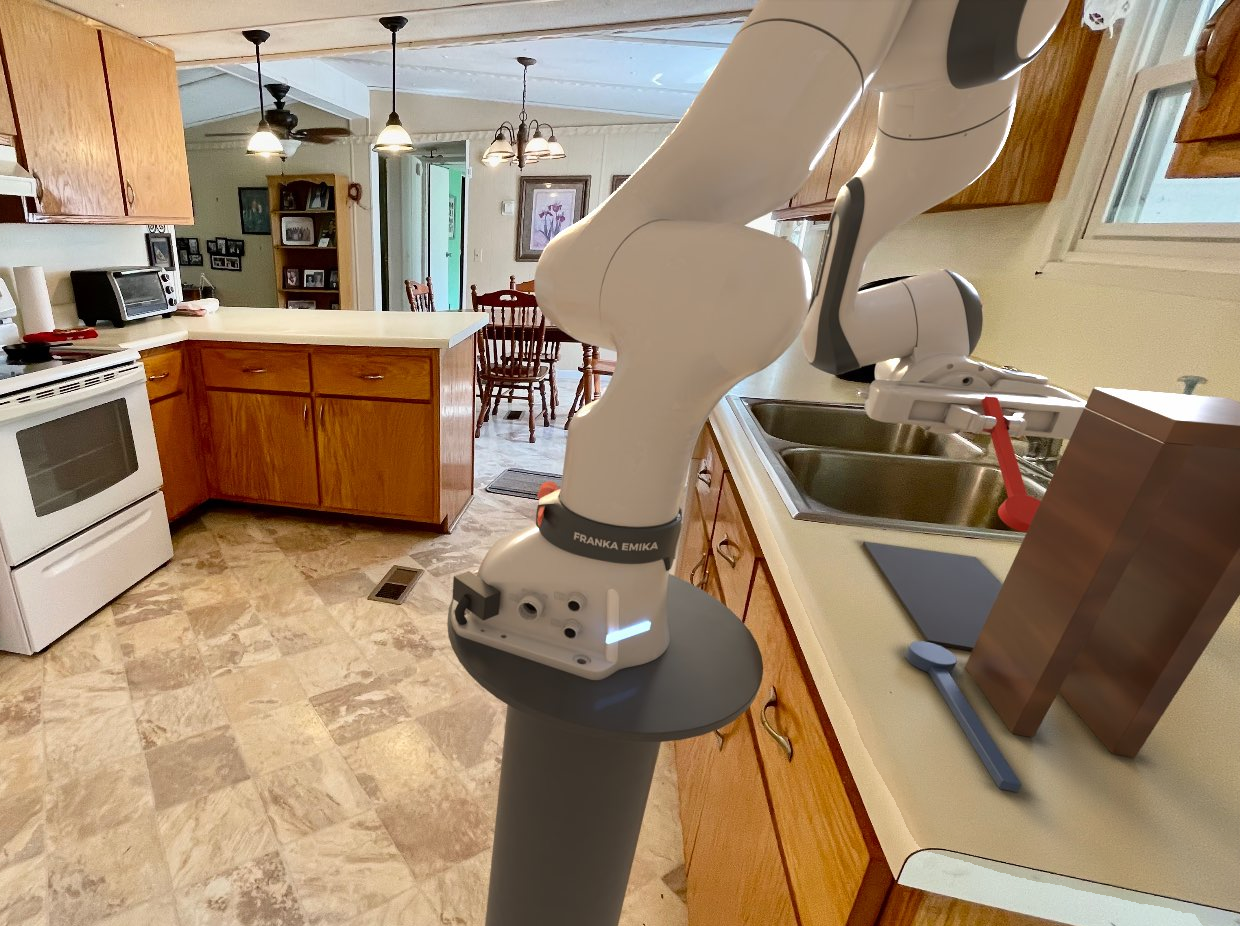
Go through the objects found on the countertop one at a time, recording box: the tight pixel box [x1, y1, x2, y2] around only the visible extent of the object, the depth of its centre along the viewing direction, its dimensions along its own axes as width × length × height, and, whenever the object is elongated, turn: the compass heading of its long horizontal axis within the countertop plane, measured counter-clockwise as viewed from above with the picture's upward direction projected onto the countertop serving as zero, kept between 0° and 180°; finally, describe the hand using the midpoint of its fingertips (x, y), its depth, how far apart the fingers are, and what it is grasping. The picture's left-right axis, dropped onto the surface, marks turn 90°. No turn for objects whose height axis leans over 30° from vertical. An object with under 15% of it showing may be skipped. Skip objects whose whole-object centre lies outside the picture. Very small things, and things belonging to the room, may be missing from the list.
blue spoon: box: [905, 640, 1023, 793], centre depth 55 cm, size 17×4×1 cm, turn 162°
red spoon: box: [981, 396, 1042, 533], centre depth 66 cm, size 17×4×1 cm
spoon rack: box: [964, 387, 1240, 759], centre depth 50 cm, size 8×9×26 cm
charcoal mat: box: [862, 541, 1003, 652], centre depth 71 cm, size 12×22×1 cm, turn 163°
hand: (1001, 428), depth 68 cm, fingers closed on red spoon, 1 cm apart
